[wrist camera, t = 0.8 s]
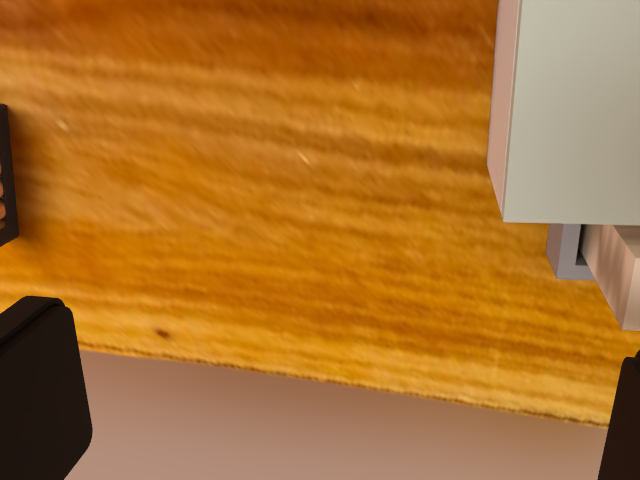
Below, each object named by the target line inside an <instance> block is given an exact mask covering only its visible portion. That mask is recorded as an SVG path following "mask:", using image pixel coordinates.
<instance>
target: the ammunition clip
mask: <svg viewBox="0 0 640 480" xmlns="http://www.w3.org/2000/svg"><path fill="white" fill-rule="evenodd" d="M18 235H19V230H18V220H17V209H16V199H15V188H14V177H13V167H12V156H11V146H10V135H9V124H8V114H7V106H6V105H4V104H0V247H1V246H3V245H4V244H6V243H8V242H10V241H11V240H13V239H15V238H17V237H18Z"/></svg>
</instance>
